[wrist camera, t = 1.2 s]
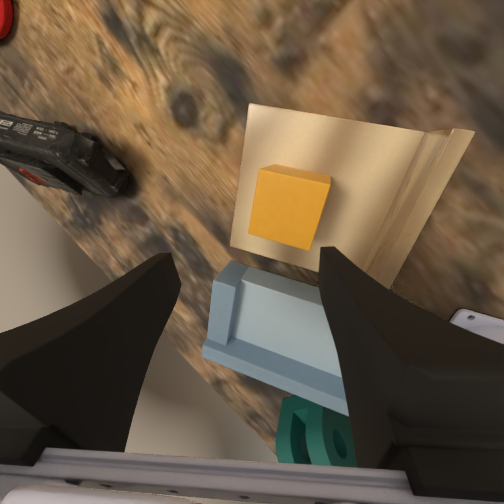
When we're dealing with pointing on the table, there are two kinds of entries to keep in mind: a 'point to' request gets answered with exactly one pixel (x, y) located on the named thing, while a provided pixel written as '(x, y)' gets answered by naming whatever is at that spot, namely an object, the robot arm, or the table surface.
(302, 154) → the low wooden bench
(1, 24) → the tracker holder
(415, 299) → the table surface
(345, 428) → the bracket
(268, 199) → the block
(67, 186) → the battery
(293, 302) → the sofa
